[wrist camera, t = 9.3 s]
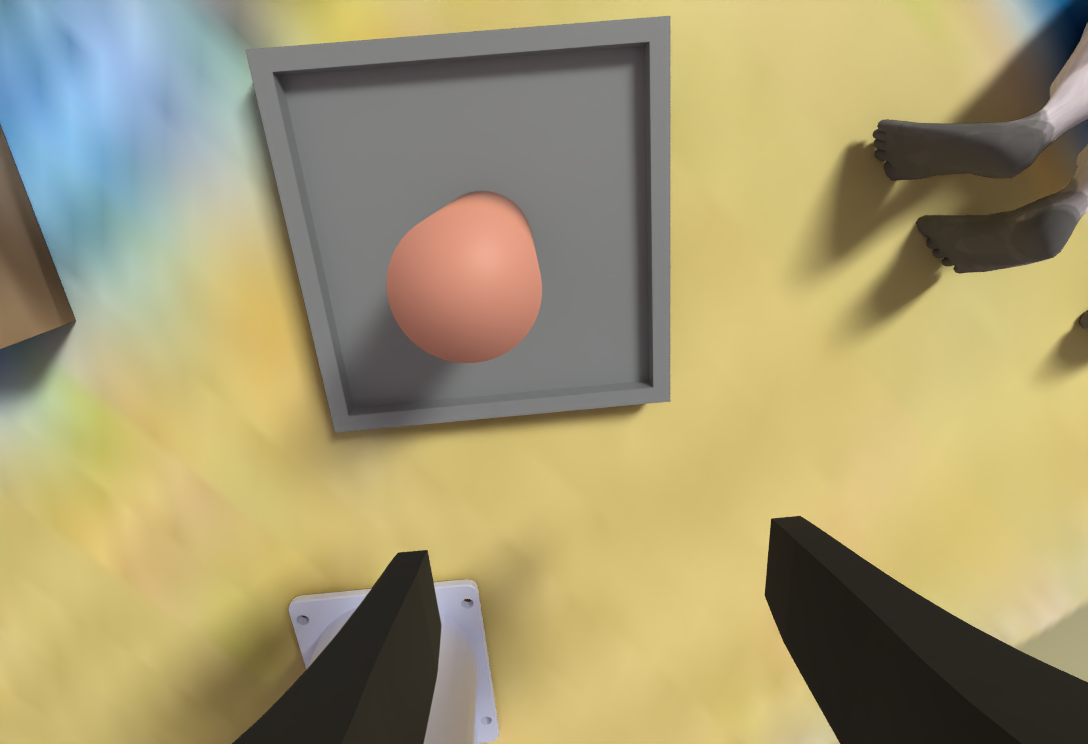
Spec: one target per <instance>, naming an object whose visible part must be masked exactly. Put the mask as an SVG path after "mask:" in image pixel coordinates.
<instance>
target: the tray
mask: <svg viewBox="0 0 1088 744" xmlns="http://www.w3.org/2000/svg"><path fill="white" fill-rule="evenodd" d="M246 55H247V59H248V63H249V68H250V72H251V76H252V80H253V85H254V89H255V93H256V97H257V102H258V106H259V110H260V114H261V119H262V123H263V127H264V132H265V136H266V140H267V144H268V149H269V153H270V157H271V161H272V166H273V170H274V174H275V179H276V183H277V187H278V191H279V196H280V200H281V204H282V208H283V213H284V217H285V221H286V226H287V230H288V234H289V238H290V243H291V247H292V251H293V255H294V260H295V264H296V268H297V273H298V277H299V281H300V285H301V290H302V294H303V298H304V302H305V307H306V311H307V315H308V320H309V324H310V328H311V332H312V337H313V341H314V345H315V349H316V354H317V358H318V362H319V367H320V371H321V375H322V379H323V384H324V388H325V392H326V396H327V401H328V405H329V409H330V414H331V418H332V422H333V426H334V431H335V433H338V432H348V431H359V430H370V429H380V428H391V427H402V426H413V425H423V424H434V423H445V422H455V421H466V420H477V419H487V418H498V417H509V416H519V415H530V414H541V413H552V412H562V411H573V410H584V409H594V408H605V407H616V406H626V405H637V404H648V403H658V402H669V401H670V16H662V17H649V18H637V19H624V20H612V21H599V22H587V23H574V24H562V25H549V26H537V27H524V28H511V29H499V30H486V31H474V32H461V33H449V34H436V35H424V36H411V37H398V38H386V39H373V40H361V41H348V42H336V43H323V44H311V45H298V46H285V47H273V48H260V49H248V50H246ZM475 191H489V192H494V193H498V194H500V195H503V196H505V197H507V198H508V199H510V200H511V201H513V202H514V203H515V204H516V205H517V206H518V207H519V208H520V209H521V210H522V212H523V213H524V215H525V216H526V218H527V220H528V223H529V225H530V228H531V232H532V237H533V241H534V246H535V251H536V255H537V260H538V264H539V269H540V274H541V280H542V299H541V305H540V309H539V313H538V315H537V318H536V320H535V323H534V324H533V326H532V328H531V330H530V331H529V332H528V334H527V335H526V336H525V338H524V339H523V340H522V341H521V342H520V343H519V344H518V345H516V346H515V347H514V348H513V349H511V350H510V351H508V352H507V353H505V354H503V355H501V356H499V357H497V358H494V359H491V360H488V361H484V362H478V363H456V362H451V361H447V360H443V359H440V358H438V357H435V356H433V355H431V354H429V353H427V352H425V351H424V350H422V349H421V348H419V347H418V346H417V345H416V344H415V343H413V342H412V341H411V340H410V339H409V338H408V337H407V336H406V335H405V333H404V332H403V331H402V329H401V328H400V327H399V325H398V323H397V321H396V320H395V318H394V316H393V313H392V311H391V308H390V305H389V301H388V296H387V273H388V267H389V263H390V260H391V257H392V255H393V253H394V251H395V249H396V247H397V245H398V244H399V242H400V241H401V239H402V238H403V237H404V236H405V235H406V234H407V233H408V232H409V231H410V230H411V229H412V228H413V227H414V226H416V225H417V224H418V223H420V222H422V221H423V220H425V219H426V218H428V217H429V216H431V215H432V214H434V213H435V212H437V211H438V210H440V209H441V208H443V207H444V206H446V205H447V204H449V203H451V202H452V201H454V200H455V199H457V198H458V197H460V196H462V195H464V194H467V193H470V192H475Z"/></svg>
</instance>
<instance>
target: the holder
mask: <svg viewBox="0 0 1088 744" xmlns="http://www.w3.org/2000/svg"><path fill="white" fill-rule="evenodd" d="M74 321H76V320H75V317H74V315H73V312H72V310H71V307H70V304H69V302H68V299H67V297H66V294H65V292H64V289H63V286H62V284H61V281H60V279H59V276H58V273H57V271H56V268H55V266H54V263H53V260H52V258H51V255H50V253H49V250H48V247H47V245H46V242H45V240H44V237H43V234H42V232H41V229H40V227H39V224H38V221H37V219H36V216H35V214H34V211H33V208H32V206H31V203H30V201H29V198H28V195H27V193H26V190H25V188H24V185H23V183H22V180H21V177H20V175H19V172H18V170H17V167H16V164H15V162H14V159H13V157H12V154H11V151H10V149H9V146H8V144H7V141H6V138H5V136H4V133H3V131H2V128H1V125H0V349H2V348H4V347H7V346H10V345H12V344H15V343H18V342H20V341H23V340H26V339H28V338H31V337H34V336H36V335H39V334H42V333H44V332H47V331H50V330H52V329H55V328H58V327H60V326H63V325H66V324H68V323H71V322H74Z"/></svg>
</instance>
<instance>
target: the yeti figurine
mask: <svg viewBox="0 0 1088 744" xmlns="http://www.w3.org/2000/svg"><path fill="white" fill-rule="evenodd" d="M1087 119H1088V22H1087V24H1086V27H1085V29H1084V32H1083V35H1082V37H1081V40H1080V42H1079V44H1078V46H1077V47H1076V49H1075V50H1074V52H1073V53H1072V55H1071V56H1070V58H1069V60H1068V61H1067V62H1066V64H1065V65H1064V67H1063V68H1062V70H1061V71H1060V73H1059V74H1058V75H1057V77H1056V78H1055V80H1054V81H1053V83H1052V85H1051V87H1050V100H1049V101H1048V103H1047V104H1046V105H1045V106H1044V108H1043V109H1041V110H1040V111H1039V112H1037V113H1035V114H1032V115H1030V116H1028V117H1025V118H1021V119H1018V120H1014V121H1008V122H996V123H959V124H939V123H915V122H907V121H897V120H882V121H880V122H879V123H878V126H877V127H878V129H877V130H875V131H874V132H873V137H874V138H875V139H876V140H875V141H874V147H875V148H877V151H876V153H875V158H876V159H877V160H879V161H886V163H885V165H884V169H885V174H886V175H887V176H888V177H889V178H890V179H891V180H913V179H922V178H926V177H931V176H936V175H947V174H964V173H969V174H974V175H979V176H984V177H990V178H1012V177H1014V176H1016V175H1017V174H1019V173H1021V172H1022V171H1023V170H1025V169H1026V168H1028V167H1029V166H1030V165H1031V164H1032V163H1033V162H1034V161H1035V159H1036V158H1037V157H1038V155H1039V154H1040V153H1041V152H1042V151H1043V150H1044V149H1045V148H1046V147H1047V146H1048V145H1049V144H1050V143H1052V142H1053V141H1054V140H1056V139H1057V138H1058V137H1059V136H1061V135H1062V134H1063V133H1065V132H1066V131H1068V130H1069V129H1071V128H1072V127H1074V126H1076V125H1078V124H1079V123H1081V122H1083V121H1085V120H1087ZM1076 165H1077V170H1076V172H1075V175H1074V176H1073V178H1072V180H1071V182H1070V183H1069V184H1068V186H1067V187H1066V188H1064V189H1063V190H1061V191H1059V192H1057V193H1055V194H1052V195H1050V196H1047V197H1044V198H1042V199H1039V200H1037V201H1035V202H1032V203H1030V204H1028V205H1026V206H1023V207H1021V208H1018V209H1016V210H1013V211H1008V212H1002V213H996V214H990V215H966V216H950V215H925V216H923V217H920V218H919V219H918V221H917V222H916V224H917V227H918V230H919V231H920V232H921V233H922V234H923V235H924V236H929V237H928V240H927V242H926V243H927V246H928V247H929V248H930V249H934V248H935V249H934V251H933V254H934V256H936V257H940V258H943V260H942V261H941V262H942V264H943V265H944V266H952V265H955V267H954V271H955V272H956V273H959V274H960V273H968V272H986V271H992V270H998V269H1004V268H1010V267H1016V266H1022V265H1027V264H1031V263H1035V262H1039V261H1042V260H1046V259H1050V258H1053V257H1054V256H1056V255H1057V254H1058V253H1060V252H1061V250H1062V249H1063V247H1064V246H1065V244H1066V243H1067V241H1068V239H1069V238H1070V236H1071V234H1072V232H1073V230H1074V228H1075V227H1076V225H1077V223H1078V222H1079V220H1080V219H1081V217H1082V216H1083V215H1084V214H1085V213H1086V212H1087V211H1088V144H1087V146H1086V147H1085V148H1084V149H1083V150H1082V151H1081V152H1080V153H1079V154H1078V157H1077V161H1076ZM1080 324H1081V326H1082V327H1083V328H1088V311H1086V312H1085V313H1084V314H1083V315H1082V317H1081V320H1080Z"/></svg>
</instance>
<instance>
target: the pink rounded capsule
mask: <svg viewBox="0 0 1088 744" xmlns="http://www.w3.org/2000/svg"><path fill="white" fill-rule="evenodd" d="M387 296H388V301H389V305H390V308H391V311H392V313H393V316H394V318H395V320H396V321H397V323H398V325H399V327H400V328H401V329H402V331H403V332H404V333H405V335H406V336H407V337H408V338H409V339H410V340H411V341H412V342H413V343H415V344H416V345H417V346H418V347H419V348H421V349H422V350H424V351H425V352H427V353H429V354H431V355H433V356H435V357H438V358H440V359H443V360H447V361H451V362H456V363H478V362H484V361H488V360H491V359H494V358H497V357H499V356H501V355H503V354H505V353H507V352H508V351H510V350H511V349H513V348H514V347H515V346H516V345H518V344H519V343H520V342H521V341H522V340H523V339H524V338H525V336H526V335H527V334H528V332H529V331H530V330H531V328H532V326H533V324H534V323H535V320H536V318H537V315H538V313H539V309H540V305H541V299H542V280H541V274H540V269H539V264H538V260H537V255H536V251H535V246H534V241H533V237H532V232H531V228H530V225H529V223H528V220H527V218H526V216H525V215H524V213H523V212H522V210H521V209H520V208H519V207H518V206H517V205H516V204H515V203H514V202H513V201H511V200H510V199H508V198H507V197H505V196H503V195H500V194H498V193H494V192H489V191H475V192H470V193H467V194H464V195H462V196H460V197H458V198H457V199H455V200H454V201H452V202H451V203H449V204H447V205H446V206H444V207H443V208H441V209H440V210H438V211H437V212H435V213H434V214H432V215H431V216H429V217H428V218H426V219H425V220H423V221H422V222H420V223H418V224H417V225H416V226H414V227H413V228H412V229H411V230H410V231H409V232H408V233H407V234H406V235H405V236H404V237H403V238H402V239H401V241H400V242H399V244H398V245H397V247H396V249H395V251H394V253H393V255H392V257H391V260H390V263H389V267H388V273H387Z"/></svg>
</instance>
